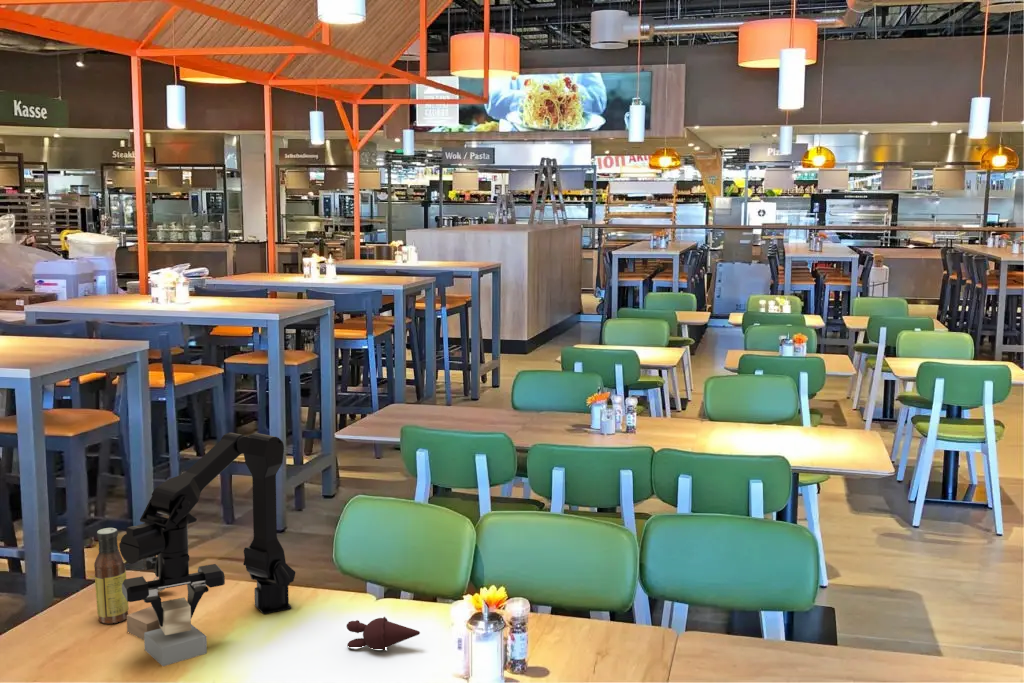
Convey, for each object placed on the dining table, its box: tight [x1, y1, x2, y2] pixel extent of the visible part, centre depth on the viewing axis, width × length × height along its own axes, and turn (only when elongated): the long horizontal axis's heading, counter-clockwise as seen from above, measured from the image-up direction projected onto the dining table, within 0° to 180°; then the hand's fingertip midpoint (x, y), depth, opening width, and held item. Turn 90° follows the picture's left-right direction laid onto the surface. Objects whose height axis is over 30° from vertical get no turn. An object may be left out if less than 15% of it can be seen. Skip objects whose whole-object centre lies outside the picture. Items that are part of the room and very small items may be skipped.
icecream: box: [346, 616, 421, 651], centre depth 204 cm, size 7×7×15 cm
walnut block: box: [126, 605, 160, 641], centre depth 210 cm, size 7×7×4 cm
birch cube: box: [159, 597, 192, 635], centre depth 200 cm, size 5×5×5 cm
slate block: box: [143, 623, 208, 667], centre depth 201 cm, size 9×9×4 cm
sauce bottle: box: [93, 527, 129, 625], centre depth 214 cm, size 7×6×20 cm
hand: (175, 623), depth 200 cm, fingers closed on birch cube, 5 cm apart
